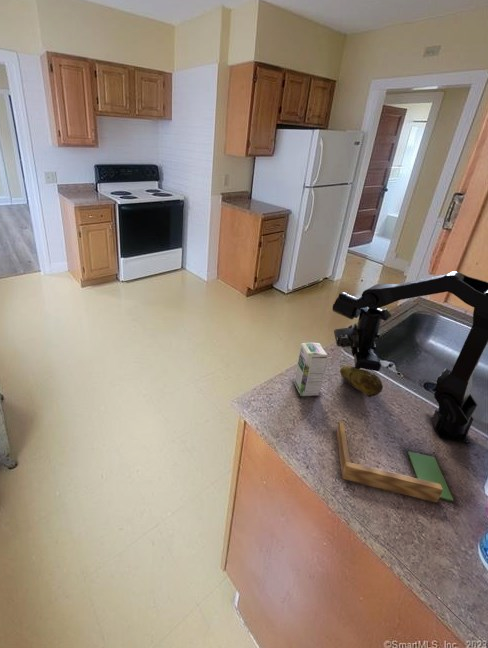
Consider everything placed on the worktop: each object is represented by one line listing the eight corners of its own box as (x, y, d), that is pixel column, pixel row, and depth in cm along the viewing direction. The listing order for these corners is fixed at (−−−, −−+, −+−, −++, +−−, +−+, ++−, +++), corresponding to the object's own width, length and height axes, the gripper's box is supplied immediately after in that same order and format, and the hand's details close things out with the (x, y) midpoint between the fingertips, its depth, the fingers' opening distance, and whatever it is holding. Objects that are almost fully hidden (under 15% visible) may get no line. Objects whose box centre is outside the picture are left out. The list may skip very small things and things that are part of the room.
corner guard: (416, 451, 77) (421, 439, 75) (437, 502, 66) (443, 489, 64) (336, 433, 81) (339, 421, 79) (342, 479, 70) (346, 466, 68)
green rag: (434, 458, 75) (434, 457, 75) (453, 501, 66) (453, 500, 66) (407, 452, 76) (408, 451, 76) (422, 493, 67) (423, 492, 67)
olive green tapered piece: (362, 374, 101) (367, 353, 98) (383, 406, 89) (389, 383, 86) (336, 373, 101) (340, 353, 98) (353, 405, 90) (359, 383, 86)
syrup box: (293, 382, 97) (300, 342, 92) (312, 382, 98) (319, 342, 92) (300, 396, 92) (307, 355, 87) (320, 395, 93) (328, 354, 87)
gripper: (335, 306, 103) (327, 346, 109) (342, 339, 87) (332, 384, 93) (373, 311, 101) (362, 352, 107) (387, 346, 84) (373, 392, 90)
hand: (356, 368), depth 99 cm, fingers closed
